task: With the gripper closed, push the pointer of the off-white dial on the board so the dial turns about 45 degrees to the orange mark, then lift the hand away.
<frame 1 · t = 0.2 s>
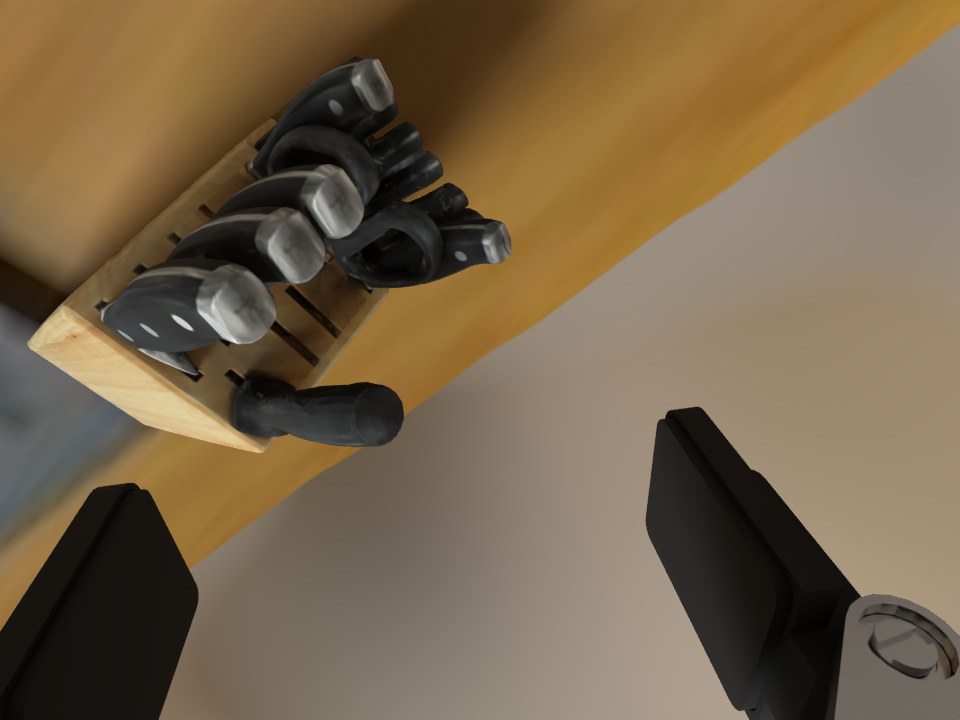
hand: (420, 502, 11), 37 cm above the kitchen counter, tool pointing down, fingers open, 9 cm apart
knife block: (254, 242, 45), on the kitchen counter
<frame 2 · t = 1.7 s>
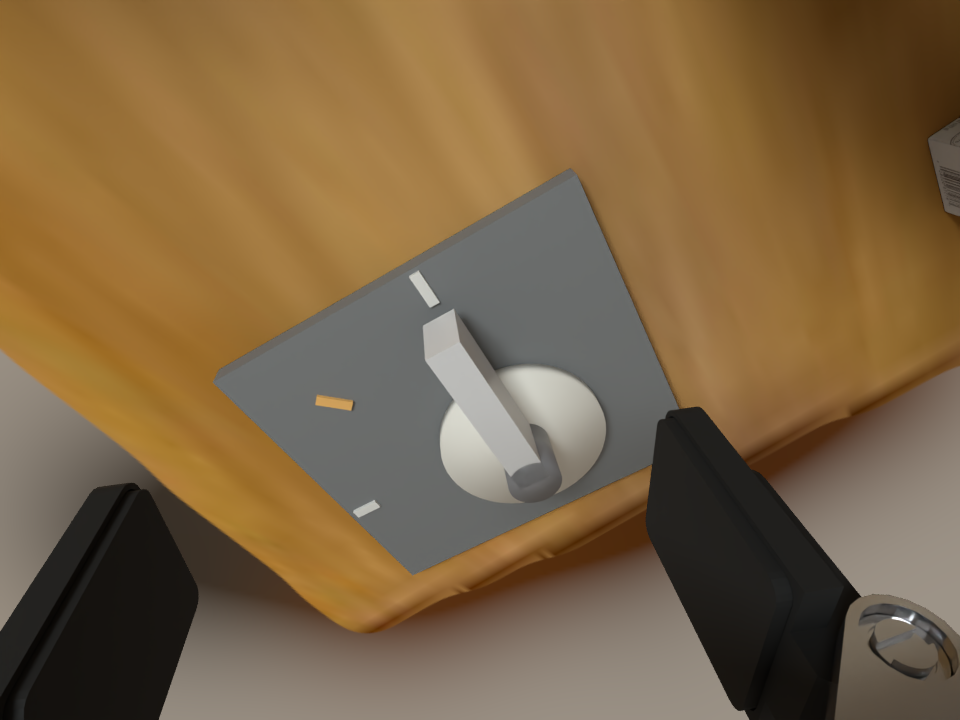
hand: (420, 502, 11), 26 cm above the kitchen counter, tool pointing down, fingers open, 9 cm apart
dial board: (475, 403, 42), on the kitchen counter
dial: (508, 428, 38), point 4 cm above the kitchen counter, hinge at 0.0°
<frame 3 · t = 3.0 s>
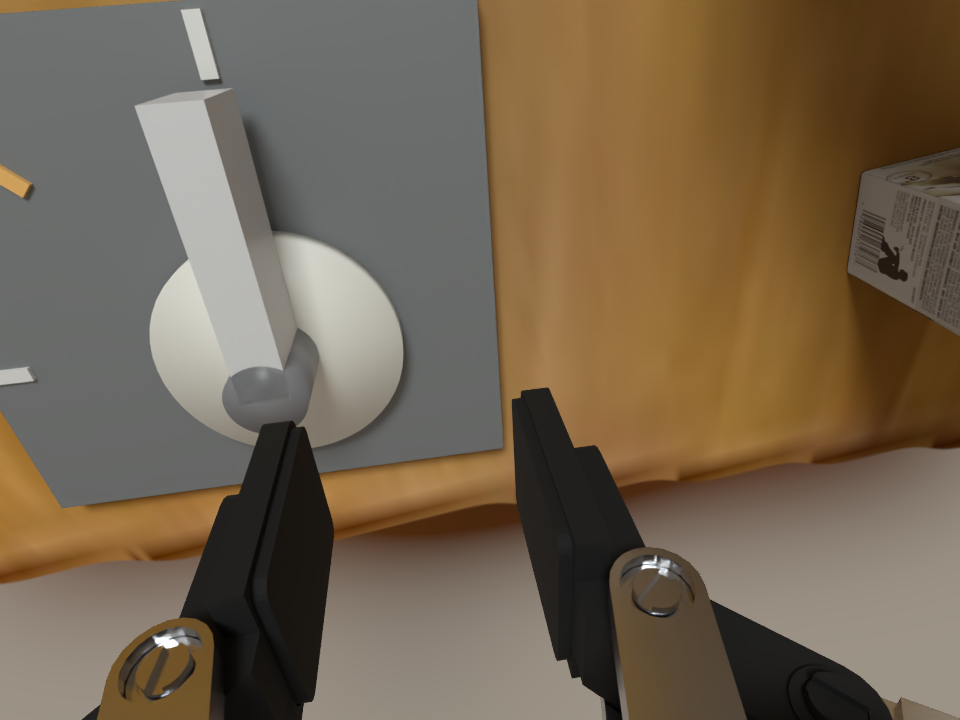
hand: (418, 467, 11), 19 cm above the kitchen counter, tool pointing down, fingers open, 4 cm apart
coffee box: (925, 204, 32), on the kitchen counter
dial board: (236, 282, 29), on the kitchen counter
dial: (259, 314, 25), point 4 cm above the kitchen counter, hinge at 0.0°
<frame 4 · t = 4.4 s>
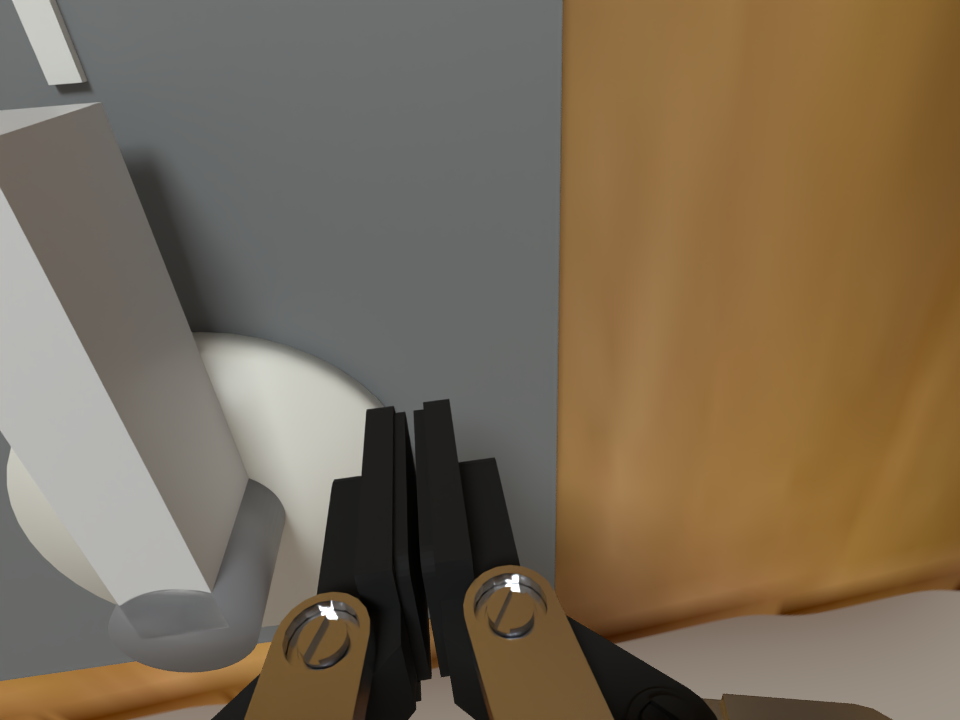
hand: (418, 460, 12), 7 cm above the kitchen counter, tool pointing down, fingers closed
dial board: (159, 394, 19), on the kitchen counter
dial: (178, 477, 15), point 4 cm above the kitchen counter, hinge at 0.0°
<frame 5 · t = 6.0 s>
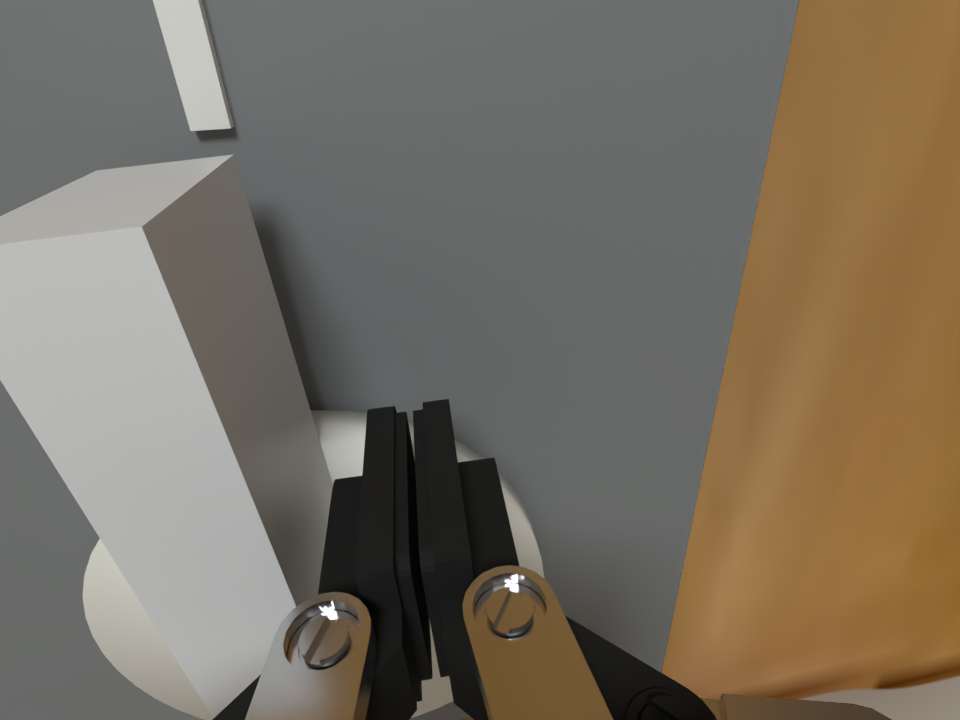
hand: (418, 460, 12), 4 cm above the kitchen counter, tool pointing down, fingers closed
dial board: (249, 471, 16), on the kitchen counter
dial: (293, 587, 13), point 4 cm above the kitchen counter, hinge at 2.5°, touching gripper
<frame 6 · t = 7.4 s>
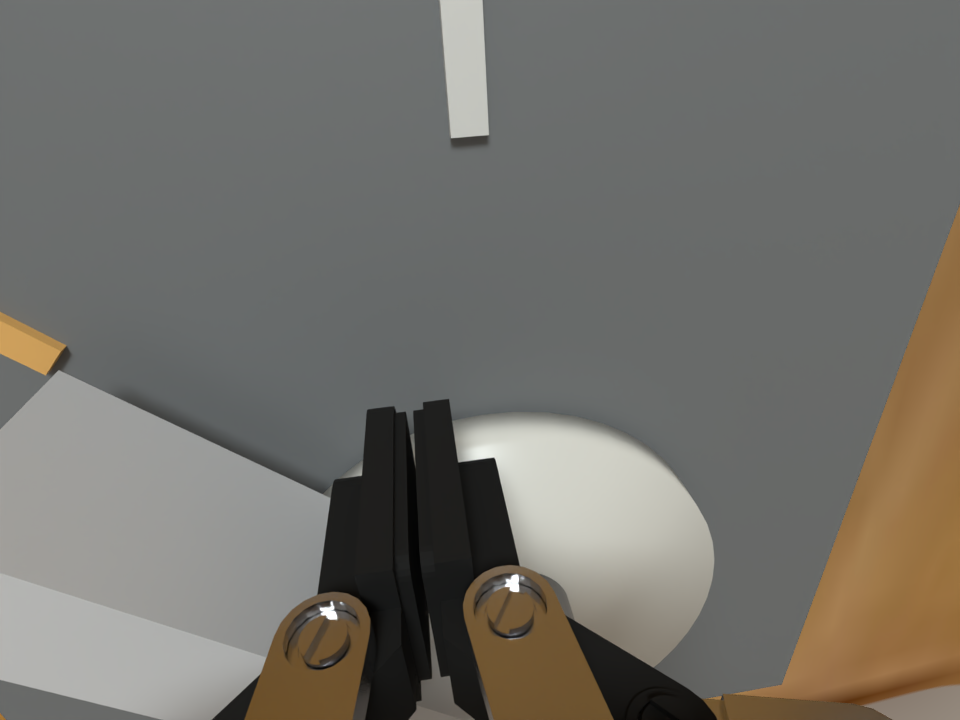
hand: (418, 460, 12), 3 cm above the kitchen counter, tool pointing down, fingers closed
dial board: (415, 474, 16), on the kitchen counter
dial: (420, 627, 13), point 4 cm above the kitchen counter, hinge at 46.2°, touching gripper
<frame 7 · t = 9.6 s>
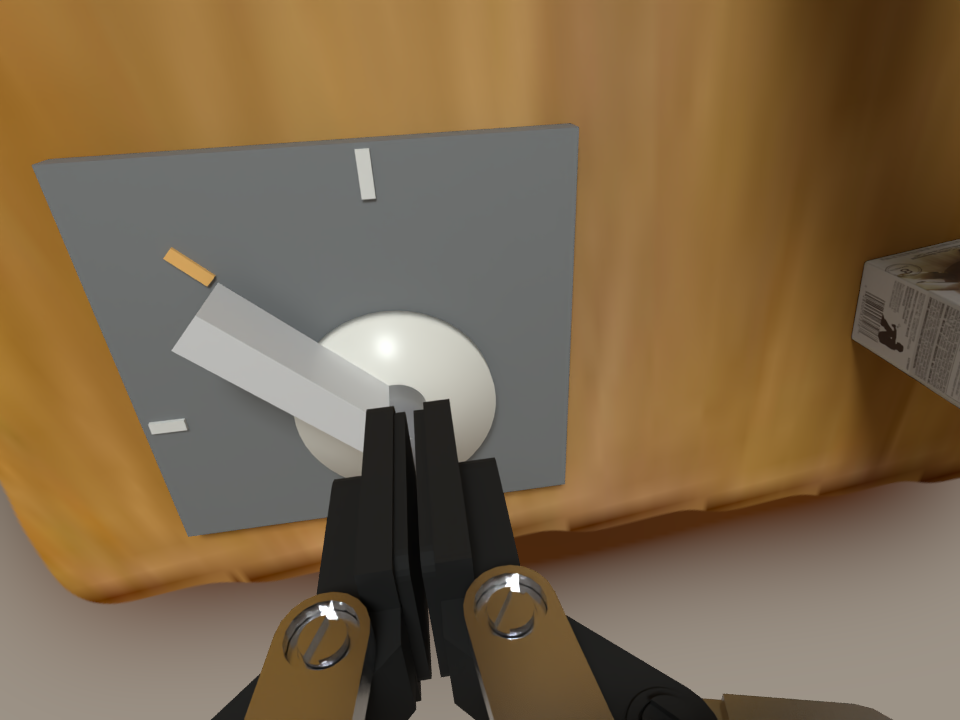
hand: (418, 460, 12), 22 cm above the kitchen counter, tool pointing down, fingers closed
coffee box: (914, 285, 39), on the kitchen counter
dial board: (357, 347, 35), on the kitchen counter
dial: (354, 398, 31), point 4 cm above the kitchen counter, hinge at 46.7°
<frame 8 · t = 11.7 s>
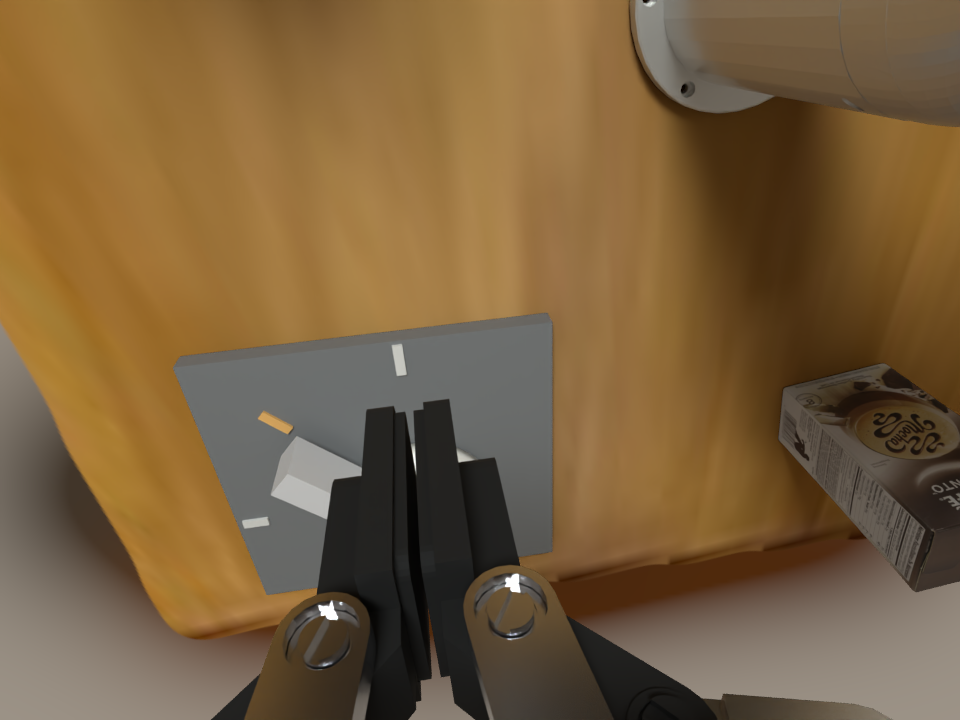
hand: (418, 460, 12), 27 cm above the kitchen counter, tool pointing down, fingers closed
coffee box: (827, 401, 49), on the kitchen counter
dial board: (392, 462, 46), on the kitchen counter
dial: (392, 508, 43), point 4 cm above the kitchen counter, hinge at 46.7°
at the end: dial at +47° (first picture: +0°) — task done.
